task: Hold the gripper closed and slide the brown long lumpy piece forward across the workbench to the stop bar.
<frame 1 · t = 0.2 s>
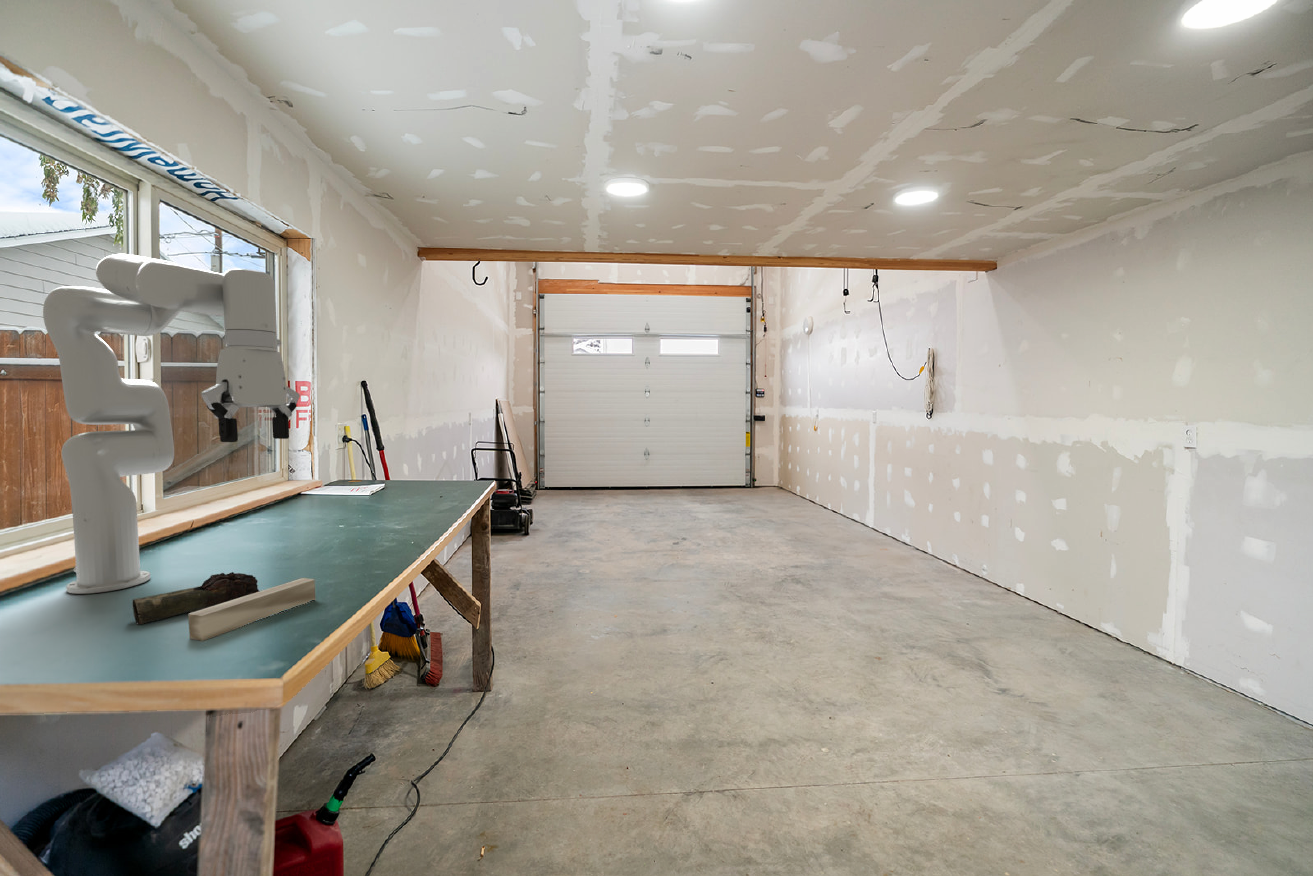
hand: (256, 440, 103), 31 cm above the workbench, tool pointing down, fingers open, 9 cm apart
stop bar: (258, 617, 101), on the workbench
brown long lumpy piece: (199, 610, 106), on the workbench
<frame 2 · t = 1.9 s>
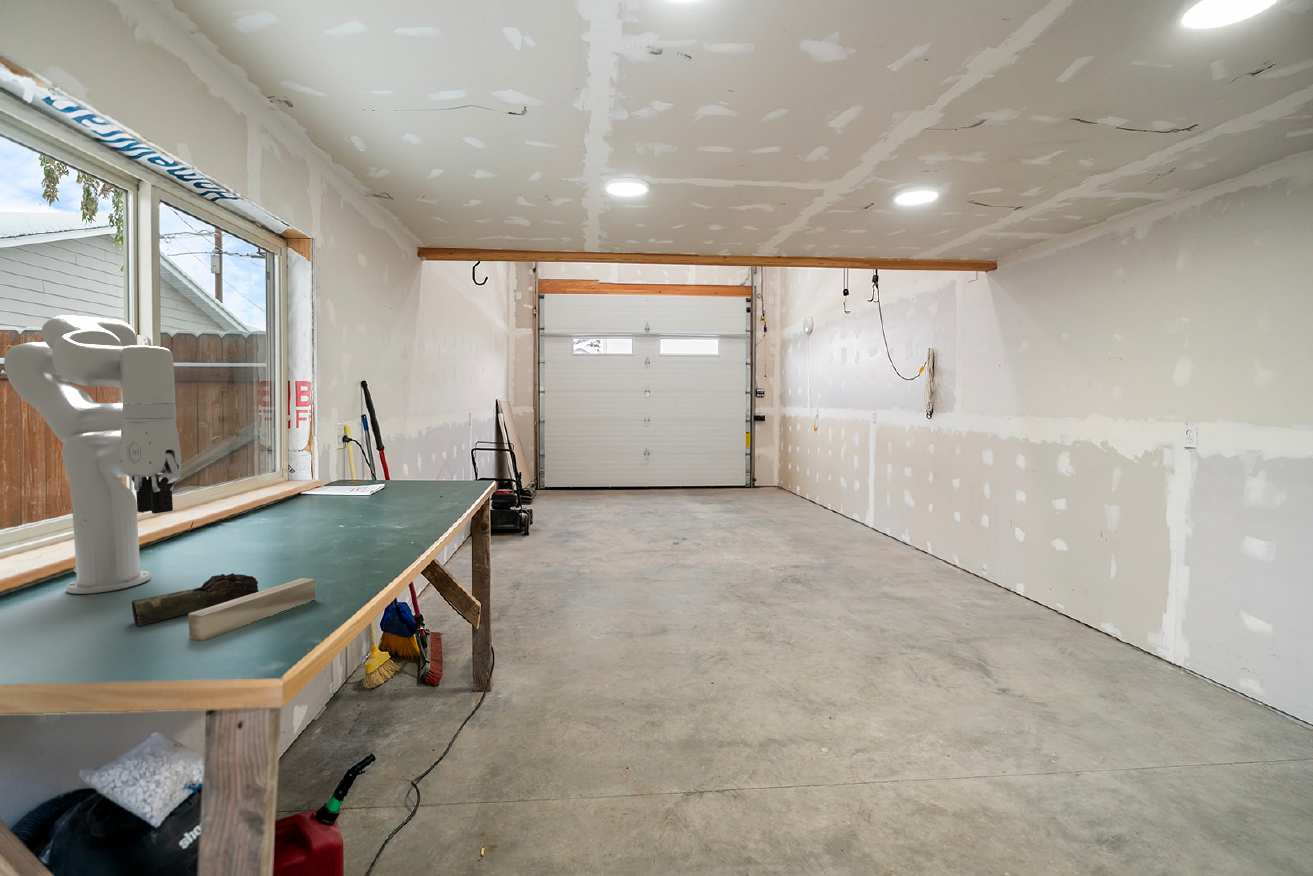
hand: (155, 510, 109), 17 cm above the workbench, tool pointing down, fingers open, 3 cm apart
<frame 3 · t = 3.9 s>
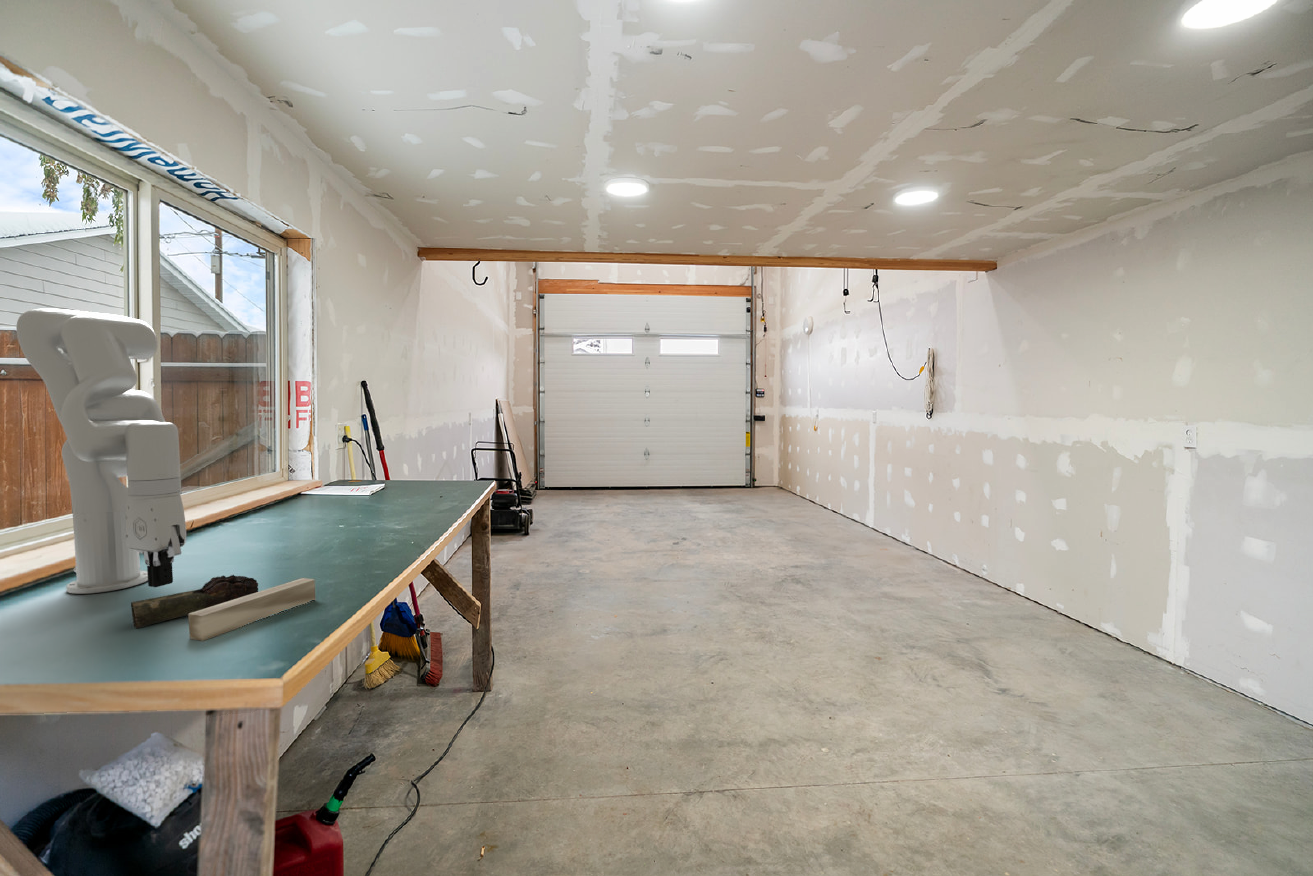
hand: (160, 584, 110), 3 cm above the workbench, tool pointing down, fingers closed
brown long lumpy piece: (199, 614, 104), on the workbench
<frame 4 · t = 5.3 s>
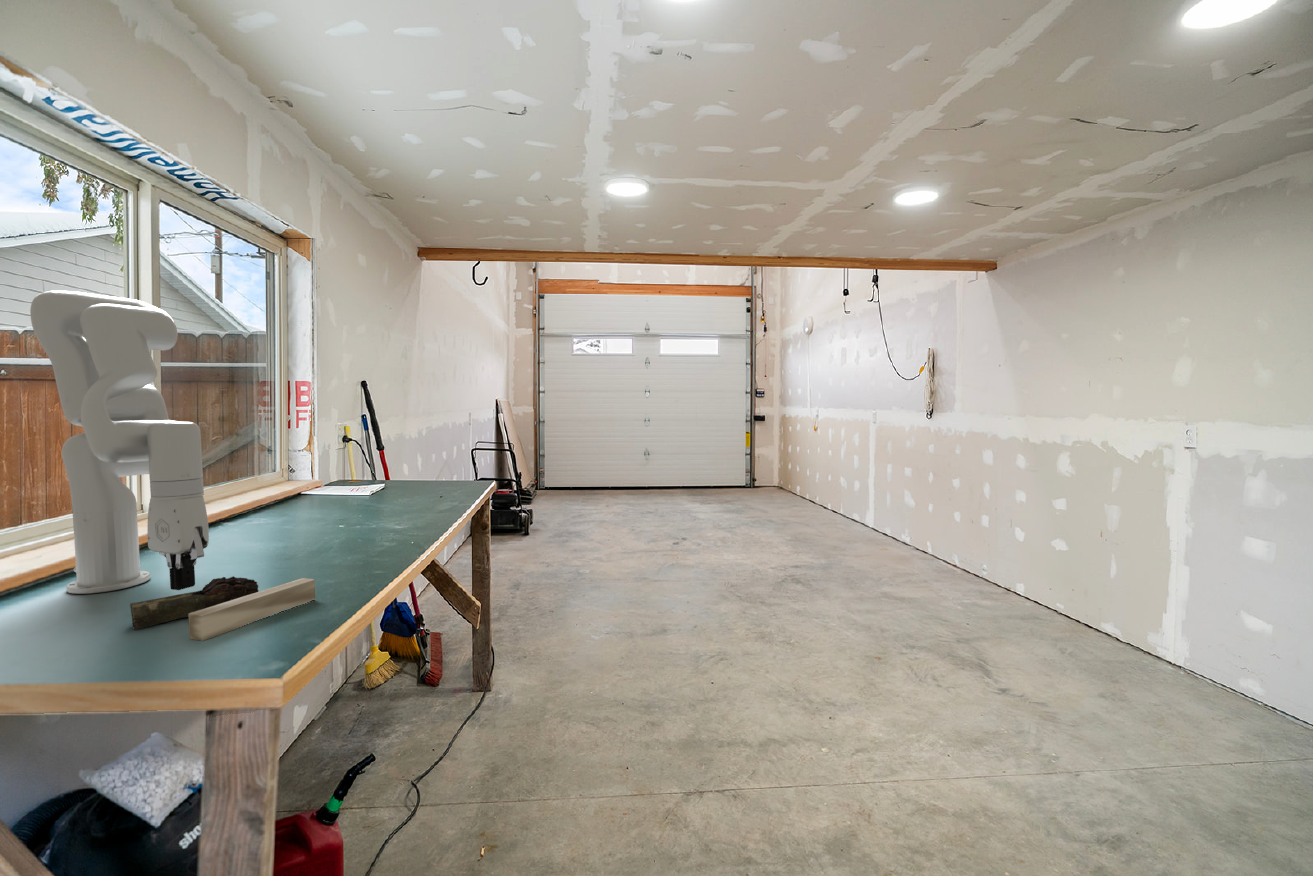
hand: (183, 587, 107), 3 cm above the workbench, tool pointing down, fingers closed
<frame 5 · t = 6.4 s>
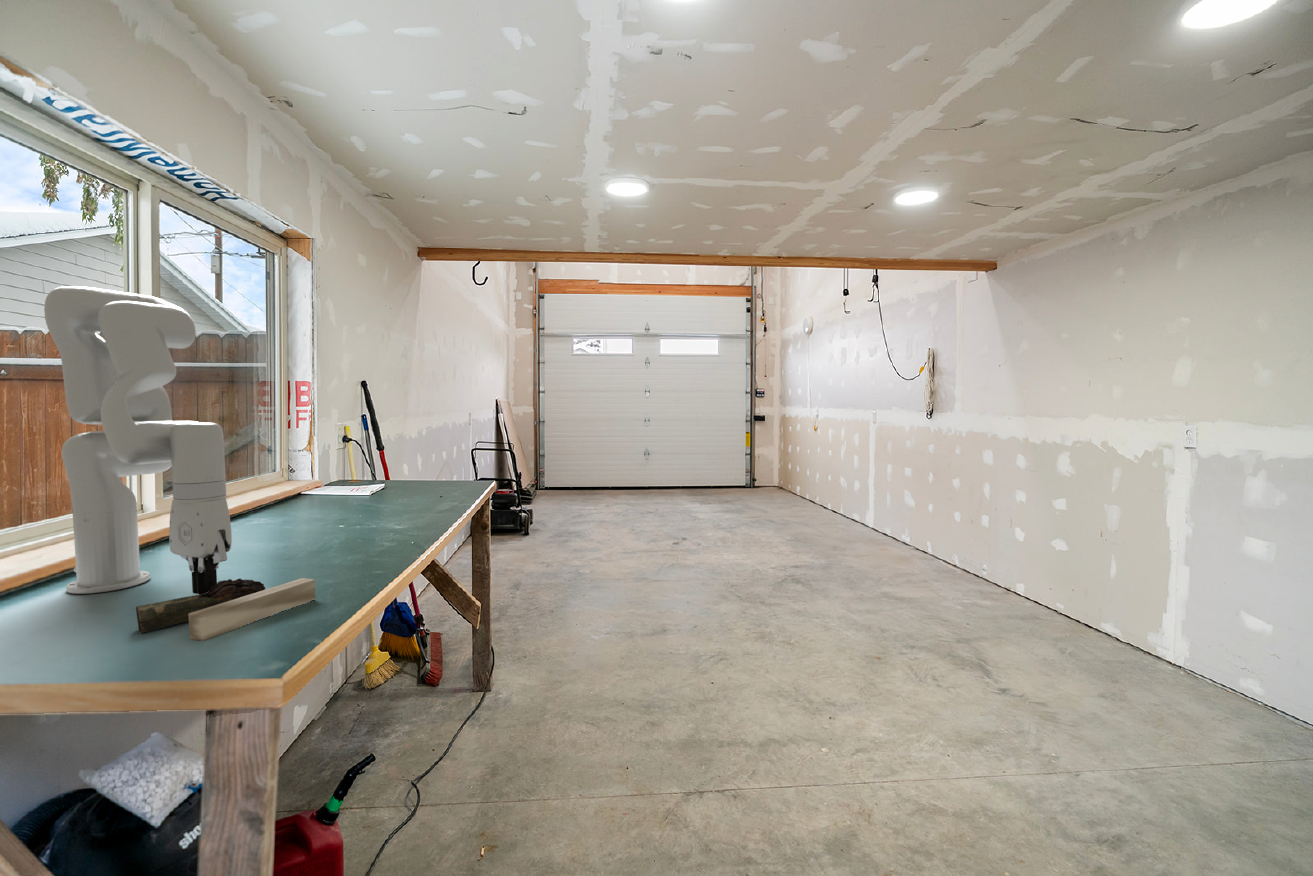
hand: (205, 591, 105), 3 cm above the workbench, tool pointing down, fingers closed
brown long lumpy piece: (205, 618, 102), on the workbench
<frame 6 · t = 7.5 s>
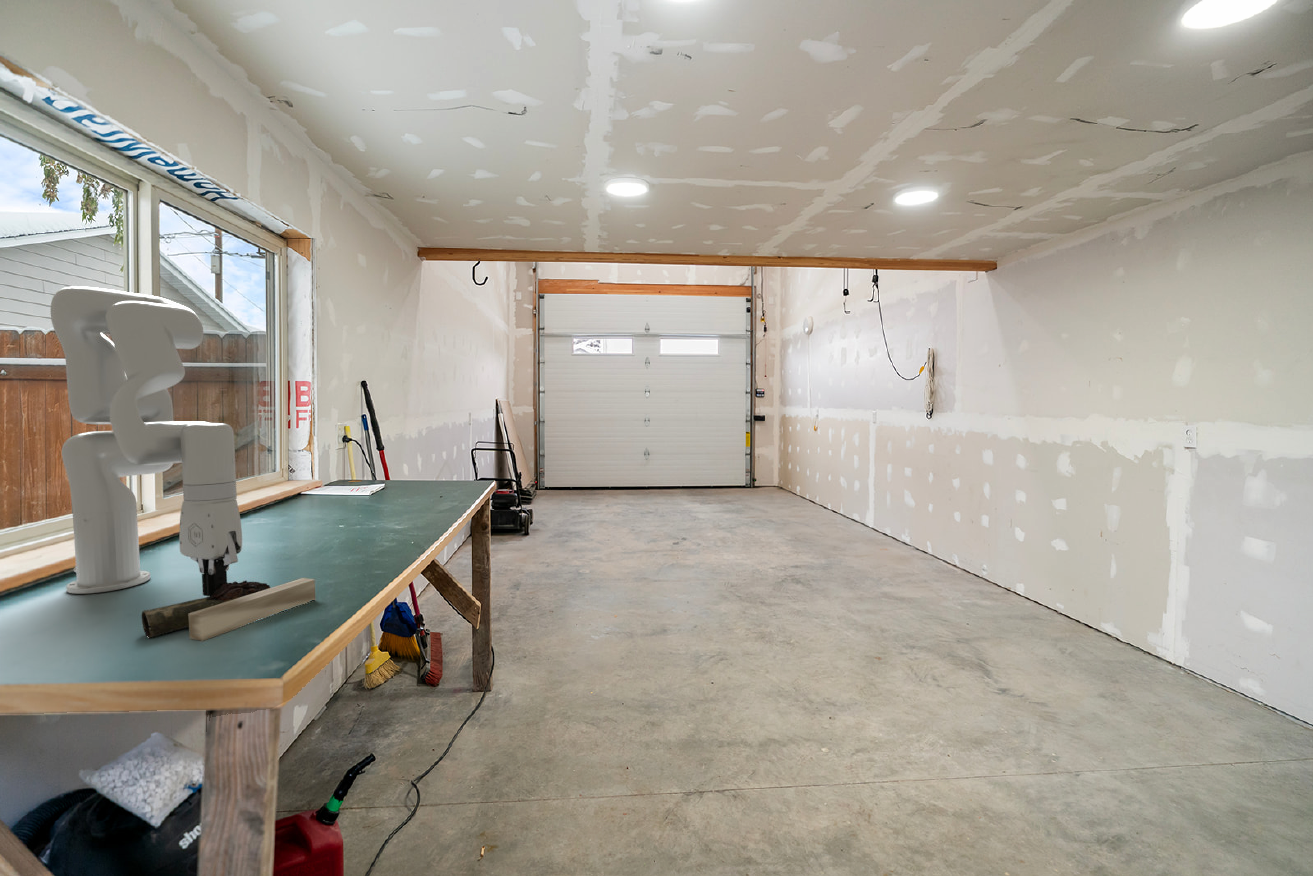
hand: (215, 593, 105), 3 cm above the workbench, tool pointing down, fingers closed
brown long lumpy piece: (212, 621, 100), on the workbench, touching gripper
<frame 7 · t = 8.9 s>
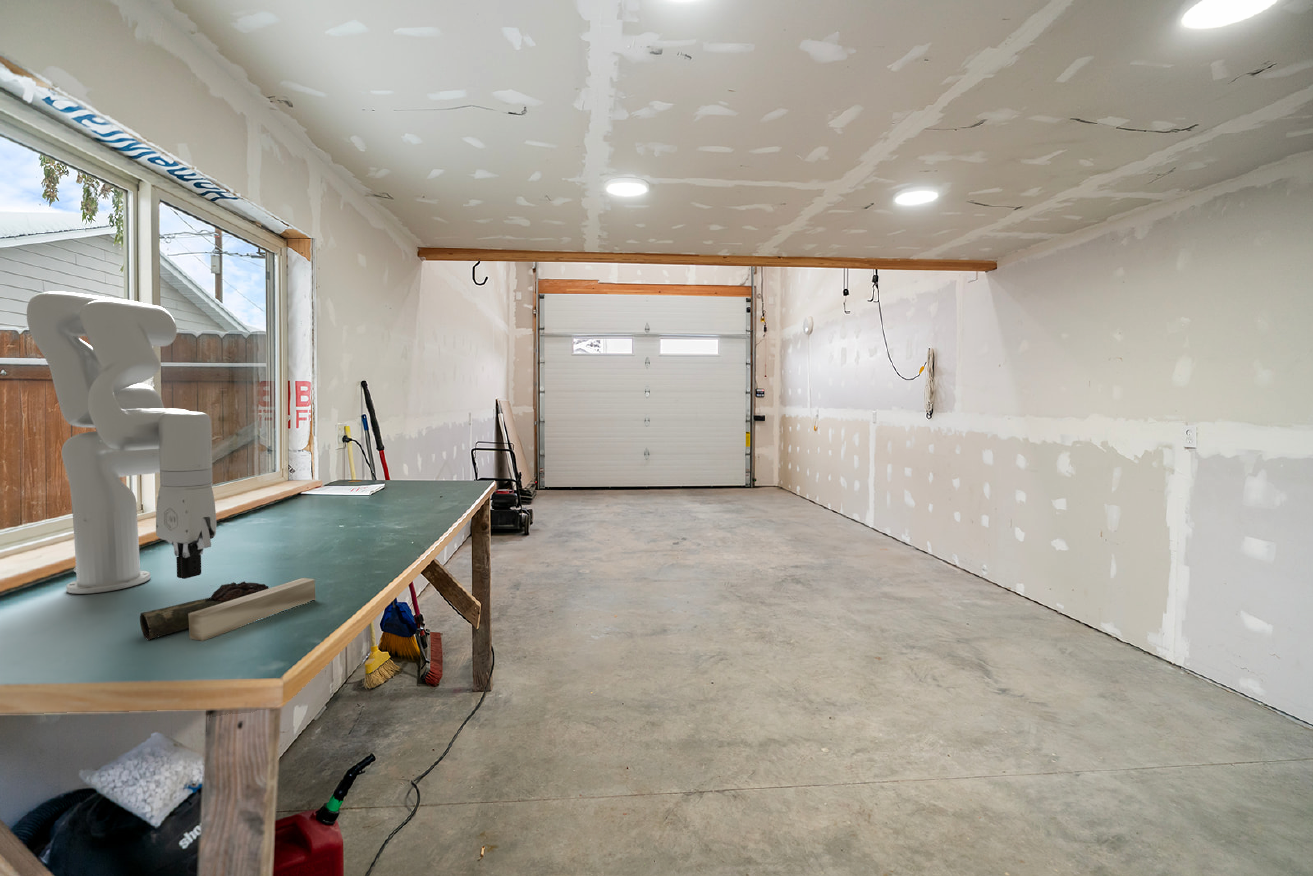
hand: (189, 576, 108), 5 cm above the workbench, tool pointing down, fingers closed
brown long lumpy piece: (210, 623, 100), on the workbench
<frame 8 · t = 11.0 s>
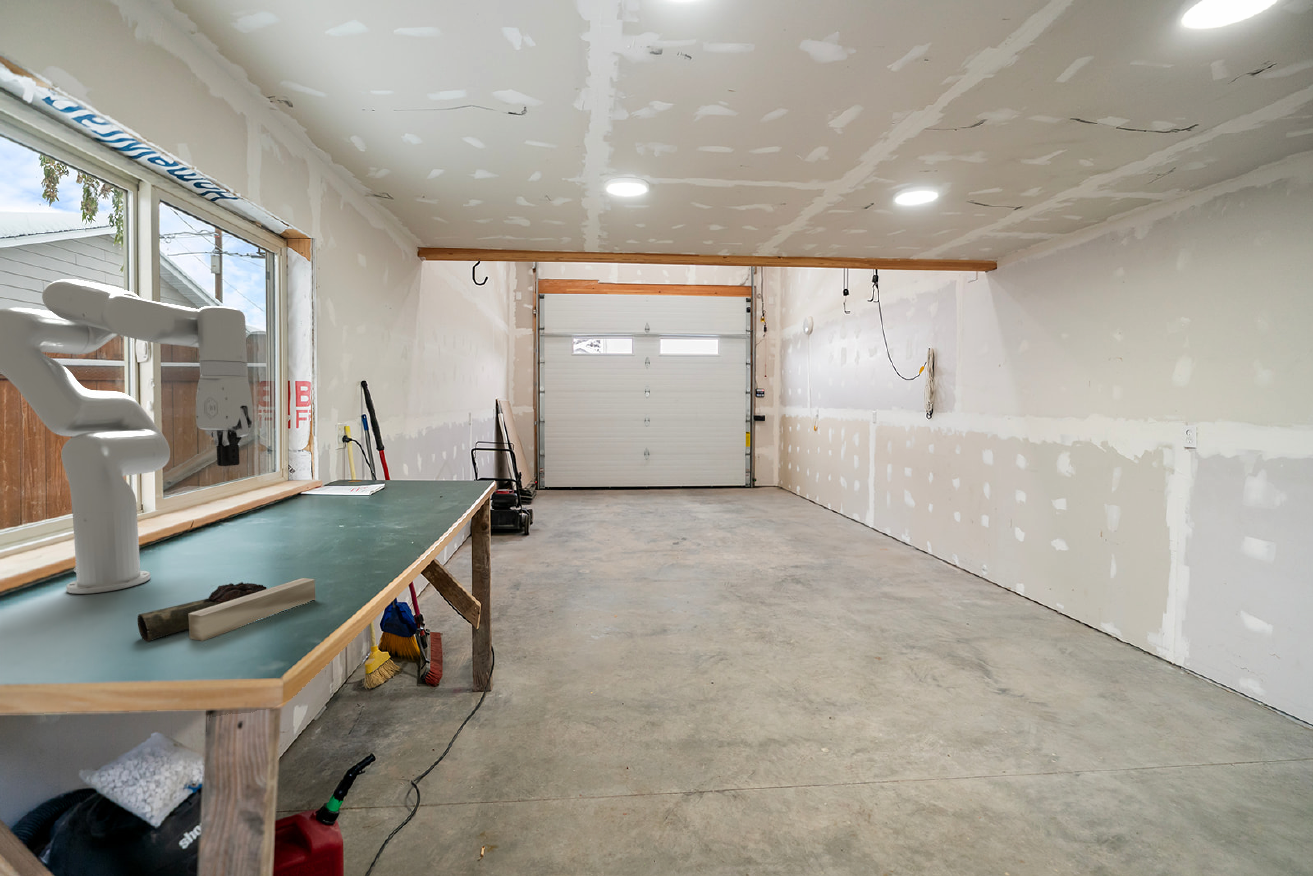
hand: (228, 465, 115), 25 cm above the workbench, tool pointing down, fingers closed
brown long lumpy piece: (208, 624, 99), on the workbench, touching stop bar
at the end: brown long lumpy piece inside the target area on the workbench beside the stop bar (4.2 cm from its centre), on the workbench; brown long lumpy piece moved 9.9 cm from its start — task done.
